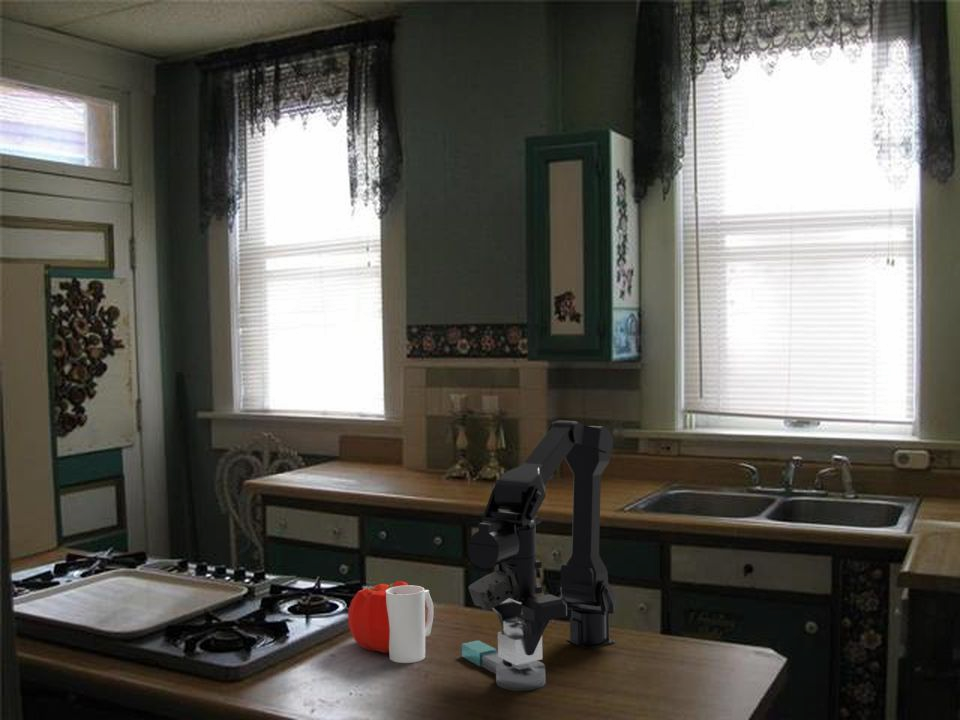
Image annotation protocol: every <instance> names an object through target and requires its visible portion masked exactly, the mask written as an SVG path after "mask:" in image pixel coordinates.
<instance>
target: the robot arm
mask: <svg viewBox="0 0 960 720" xmlns="http://www.w3.org/2000/svg"><path fill="white" fill-rule="evenodd" d="M613 447H614V439H613V435H612V433H610V432H609V430H608V429H607V427H605V426H601V425H600V426H599V425H598V426H597V425H586V424H582V423H581V422H578V421H576V420H556V421H552V422H551V423H550V425H549V429H548V432H547V433H546V434H545V435H544V436H543V438H542V439H541V440H540V441H539V443H538V444H537V446H535V448H534V449H533V450H532V452H531V453H530V454H529V456H528V457H527V459H526V460H525V461H524V462H523V463H522V464H521V465H520V466H517V467H515V468H511V469H510V470H507V471H506V472H505V473H504V474H502V476H500V477H499V478H498V479H497V480H496V482H495V483H494V485H493V487H492V490H491V493H490V496H489V499H488V501H487V503H486V507H485V509H484V513H483V515H482V518H481V519H482V520H481V521H482V522H480V523H478V529H477V531H476V532H475V533H473V535H471V537H470V539H469V542H468V544H467V552H468V556H469V558H470V560H471V561H472V562H473V564H475V566H477V567H479V568H482V569H489V568H492V567H494V568H493V571H492V572H491V573H489V574H486V575H484V576H482V577H481V578H479V579H478V580H476V581H474V582H472V583H471V584H470V585H469V586H468V590H469V593H470V596H471V599H472V601H473V603H474V606H476V607H480V608H482V609H483V610H486V611H488V610H493V612H494V613H496V615H497V618H498V621H499V623H500V626H501V630H502V631H504V623H503V621H504V620H505V619H507V618H510V617H516V618H517V619H518V620H519V621H520V622H521V623H522V624H523V631H524V641H525V649H526V654H527V655H528V656H529V655H533V654H534V652H535V649H536V647H537V645H538V643H539V641H540V638H541V636H542V637H543V634H544V631H545V630H546V628H547V626H548V624H549V623H550V621H552V620H553V621H554V620H557V619H561V618H566V617H567V616H568V610H571V618H570V620H569V635H570V636H569V637H567V638H566V641H567V642H569V643H570V644H573V645H575V646H578V647H579V648H580V647H581V648H582V649H585V650H593V649H596V648H602V647H605V646H611V645H614V644H616V641H615V640H614V639H612V638H610V615H612V614H615V613H616V610H617V608H618V607H617V606H618V601H619V598H618V596H617V594H616V593H615V591H614V590H613V588H612V587H611V585H610V583H609V575H608V569H607V567H606V565H605V563H604V562H603V560H602V557H601V556H600V530H601V527H600V525H601V523H600V521H601V491H602V490H601V482H602V474H603V473H604V470H606V467H608V465H609V463H610V461H611V456H612V449H613ZM564 459H565V461H566V463H567V465H568V466H569V469H570V470H571V473H573V474H572V475H573V488H572V489H573V494H572V495H573V496H572V497H573V498H572V528H571V529H572V534H571V535H572V536H571V537H572V538H571V555H570V557H569V558H568V560H567V561H566V563H565V564H562V565H561V567H560V583H559V591H560V596H561V598H560V597H558V596H556V595H554V594H551V593H549V594H544V595H539V594H543V586H542V585H541V586H540V585H539V584H537V583H538V582H537V569H542V568H543V567H542V566H543V565H542V561H541V560H538V559H537V542H536V541H537V537H536V536H537V535H536V532H537V531H536V530H537V529H536V525H539V524H541V523H542V518H541V517H540V516H539V515H537V513H538V511H539V510H540V508H541V505H542V504H543V502H544V500H545V499H546V497H547V495H546V494H547V493H546V484H547V482H548V481H549V480H550V478H551V477H552V476H553V474H554V473H555V472H556V470H557V469H558V468H559V466H560V465H561V464H562V463H563V461H564ZM536 595H537V596H536ZM538 595H539V596H538Z"/></svg>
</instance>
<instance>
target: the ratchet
mask: <svg viewBox="0 0 960 720" xmlns="http://www.w3.org/2000/svg"><path fill="white" fill-rule="evenodd" d="M461 657H462V658H464V659H466V660H467V661H469V662H471V663H473V664H475V665H476V666H478V667H482V668H484V669H485V670H487V671H489V672H490V673H493V674H495V683H496V685H497V686H498V687H499V688H501V689H504V690H508V691H513V692H523V691H524V692H525V691H533V690H537V689H540V688H543V686H545V684H546V665H545V664H544V662H541V661H540V660H537V661H532V662H528V663H524V664H519V665H514V664H512V663H510V662H508V661H506V660H504V659H502V658H500V657H498V650H497V648H495V647H493V646H491V645H489V644H487V643H484V642H482V641H481V640H480V639H478V640H474V641H473V640H472V641H468V642H464V643H461Z"/></svg>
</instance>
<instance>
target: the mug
mask: <svg viewBox="0 0 960 720" xmlns="http://www.w3.org/2000/svg"><path fill="white" fill-rule="evenodd" d="M394 593H397V594H394ZM402 594H404V595H402ZM386 605H387V612H388V618H389V628H390V637H389V653H388V655H389V660H390V661H392V662H395V663H400V664H412V663H417V662H420V661H423V660H424V659H425V658H426V637H428V636H430V635H431V632H432V627H433V621H434V620H433V619H434V603H433V600H432V598H431V595H430V590H429V589H425V588H424V586H423V587H422V586H419V585H409V584H408V585H406V586H396V587H392V588H389V589H387V590H386ZM425 607H427V617H426V609H425Z"/></svg>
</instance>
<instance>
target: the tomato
mask: <svg viewBox="0 0 960 720" xmlns="http://www.w3.org/2000/svg"><path fill="white" fill-rule="evenodd" d="M406 585H409V584H408V582H406V581H405V582H404V581H402V580H401V581H400V580H397V581H396V582H392V583H390V584H386V583H378V584H376V585H374V586H372V587H370V588H363V589H361V590H358V591H357V592H356V594H355V595H354V597H353V598H352V599H351V601H350V605H349V608H348V615H347V617H348V619H347V623H348V628H349V632H350V634H351V636H352V638H353V640H354V641H355V642H356V643H357V644H358V645H359V646H361V647H362V648H364V649H366V650H368V651H371V652H376V651H377V652H381V653H383V654H385V655H387V654H389V637H390V628H389V618H388V612H387V605H386V590H387V589H389V588H392V587H396V586H406ZM394 594H397V593H394ZM402 595H404V594H402Z"/></svg>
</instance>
